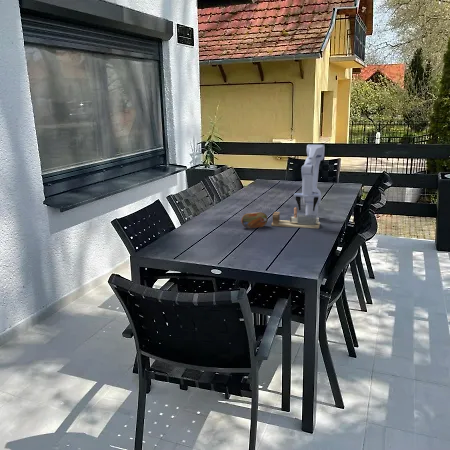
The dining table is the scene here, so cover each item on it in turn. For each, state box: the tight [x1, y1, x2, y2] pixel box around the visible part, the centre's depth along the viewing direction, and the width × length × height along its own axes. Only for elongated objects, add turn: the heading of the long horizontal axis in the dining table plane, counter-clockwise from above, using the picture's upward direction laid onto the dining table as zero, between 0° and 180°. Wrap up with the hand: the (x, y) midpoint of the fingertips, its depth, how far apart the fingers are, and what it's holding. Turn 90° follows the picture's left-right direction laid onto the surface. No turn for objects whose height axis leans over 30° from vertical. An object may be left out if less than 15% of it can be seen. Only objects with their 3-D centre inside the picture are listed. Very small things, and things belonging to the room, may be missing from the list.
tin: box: [240, 211, 268, 229], centre depth 260 cm, size 15×3×8 cm, turn 105°
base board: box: [270, 219, 321, 229], centre depth 264 cm, size 10×26×1 cm, turn 75°
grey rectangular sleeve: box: [297, 214, 316, 225], centre depth 262 cm, size 5×10×4 cm, turn 75°
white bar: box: [289, 206, 320, 223], centre depth 262 cm, size 3×16×8 cm, turn 75°
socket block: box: [272, 211, 281, 224], centre depth 266 cm, size 7×3×5 cm, turn 165°
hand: (306, 210), depth 258 cm, fingers open, 7 cm apart
